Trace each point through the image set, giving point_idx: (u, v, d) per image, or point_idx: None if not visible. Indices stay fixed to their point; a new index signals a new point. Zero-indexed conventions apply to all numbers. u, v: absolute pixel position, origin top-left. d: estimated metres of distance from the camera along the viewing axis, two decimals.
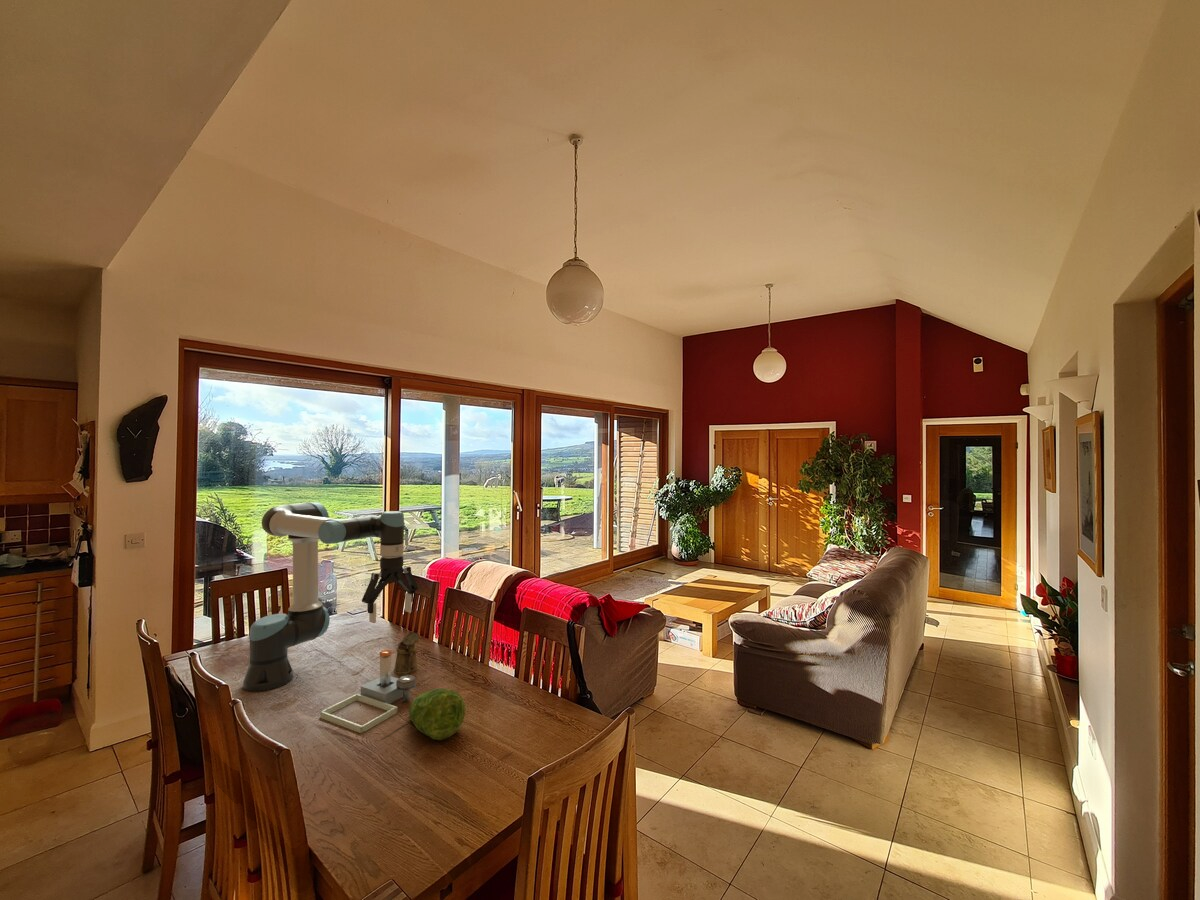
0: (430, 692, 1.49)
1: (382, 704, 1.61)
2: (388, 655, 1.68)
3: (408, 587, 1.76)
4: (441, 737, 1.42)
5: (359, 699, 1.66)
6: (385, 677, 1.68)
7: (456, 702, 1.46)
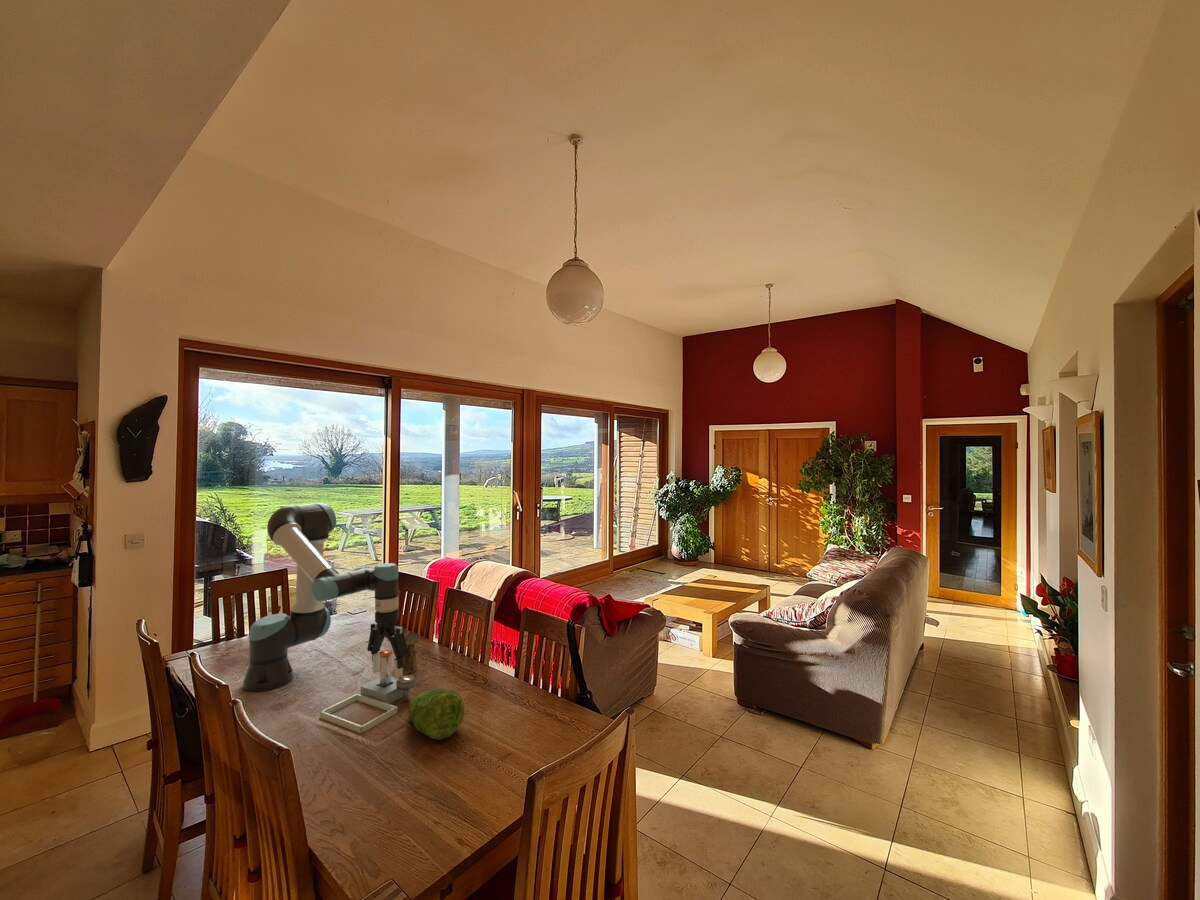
0: (430, 691, 1.49)
1: (382, 704, 1.61)
2: (388, 655, 1.68)
3: (394, 650, 1.66)
4: (440, 737, 1.42)
5: (359, 699, 1.66)
6: (385, 676, 1.68)
7: (455, 702, 1.46)
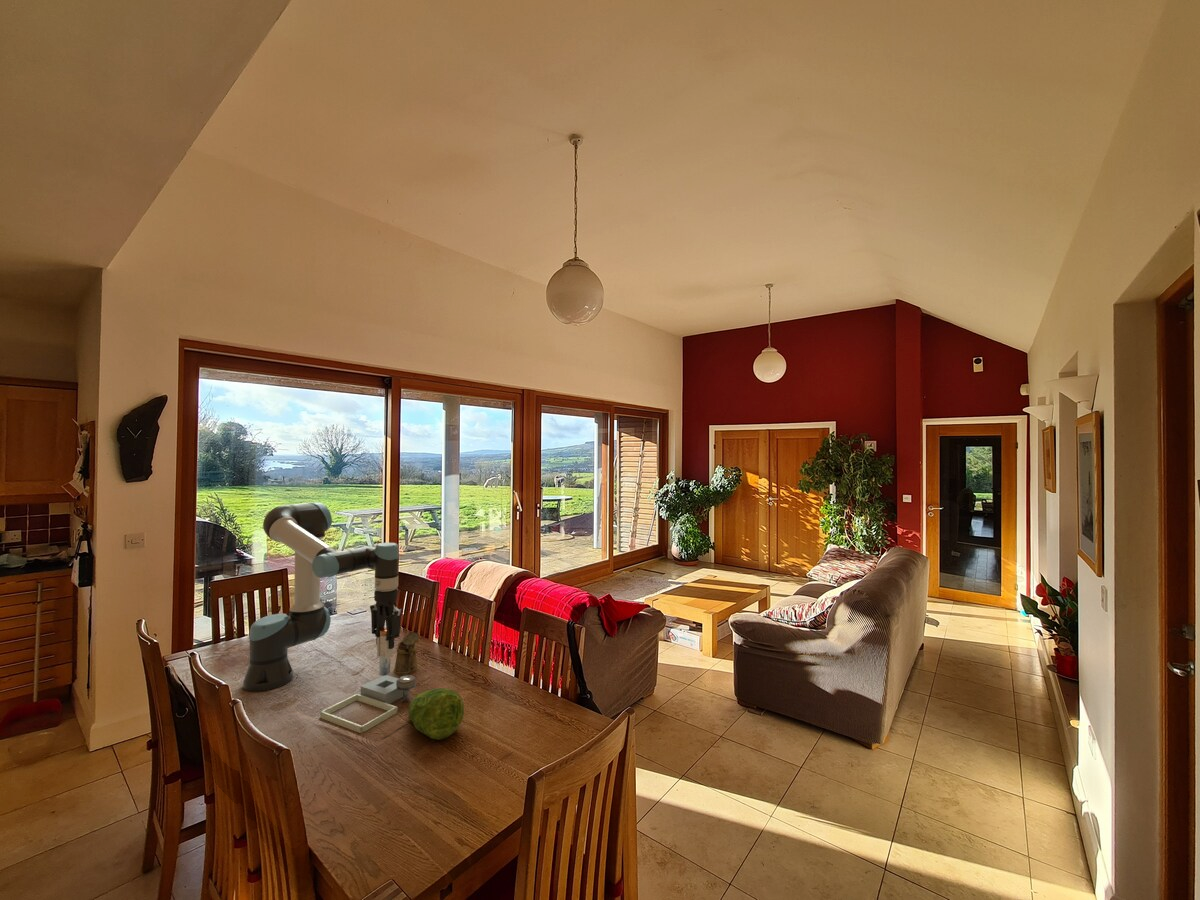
0: (429, 691, 1.49)
1: (382, 704, 1.61)
2: None
3: (387, 630, 1.68)
4: (440, 737, 1.43)
5: (359, 699, 1.66)
6: None
7: (455, 702, 1.47)
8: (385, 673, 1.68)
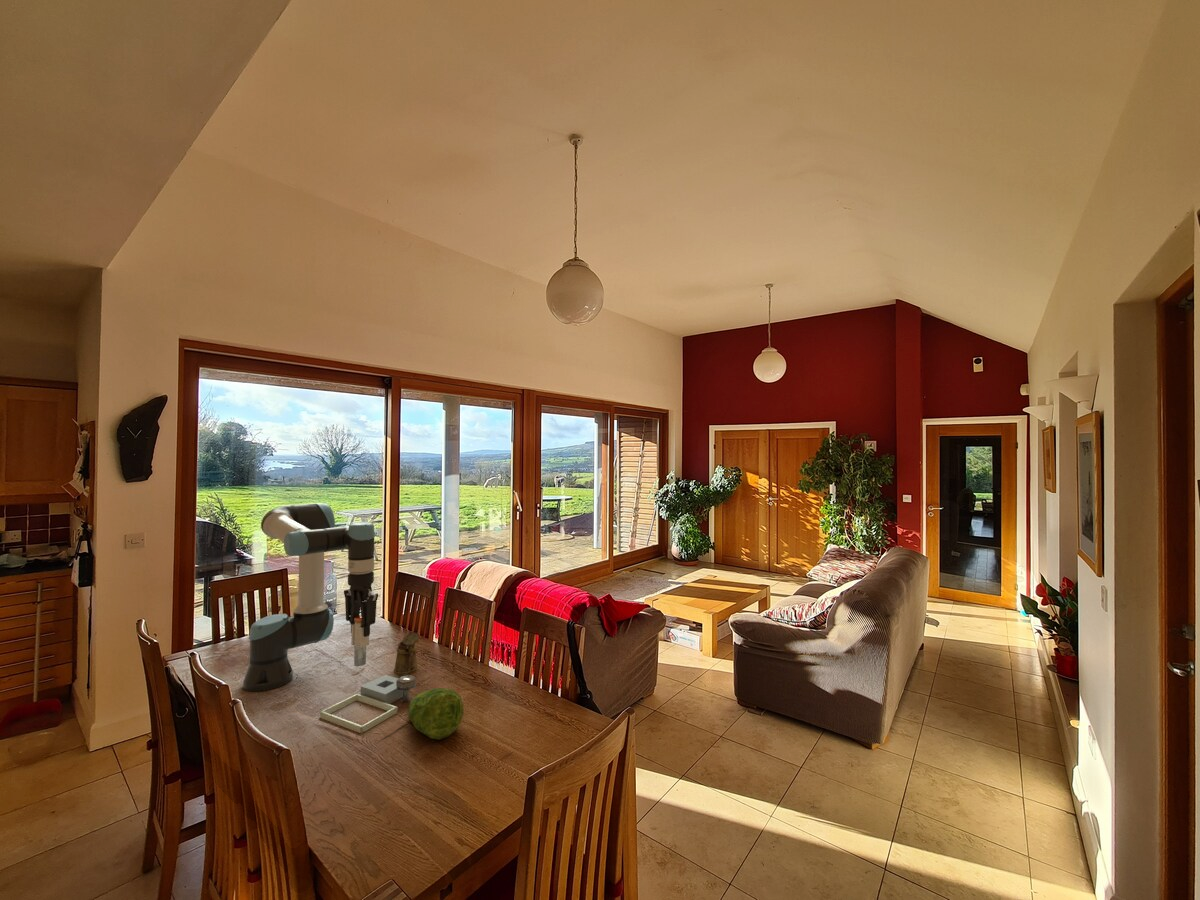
0: (429, 691, 1.49)
1: (382, 704, 1.61)
2: None
3: (362, 616, 1.55)
4: (439, 736, 1.43)
5: (359, 699, 1.66)
6: None
7: (454, 702, 1.47)
8: (360, 663, 1.56)
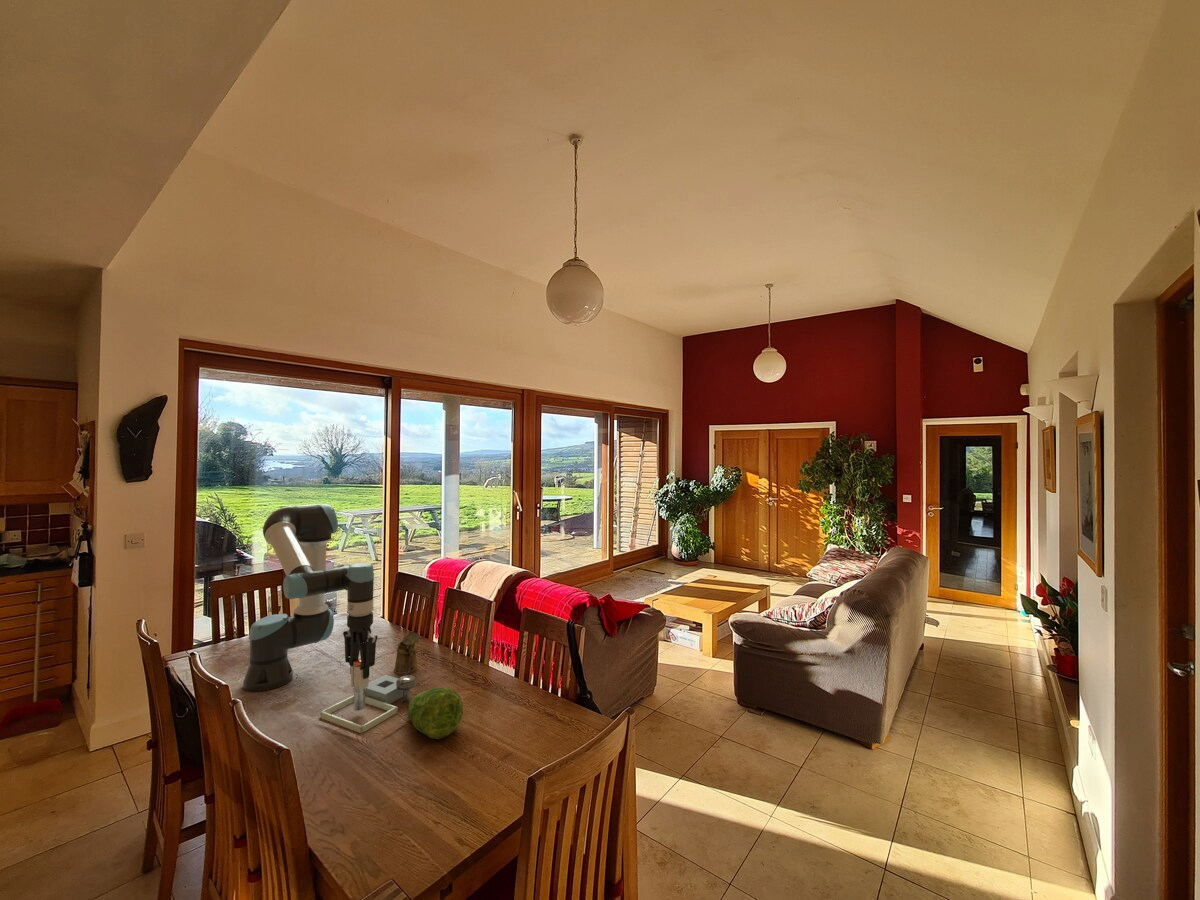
0: (428, 691, 1.50)
1: (382, 704, 1.61)
2: None
3: (361, 658, 1.55)
4: (439, 736, 1.43)
5: None
6: None
7: (453, 702, 1.47)
8: (360, 708, 1.55)
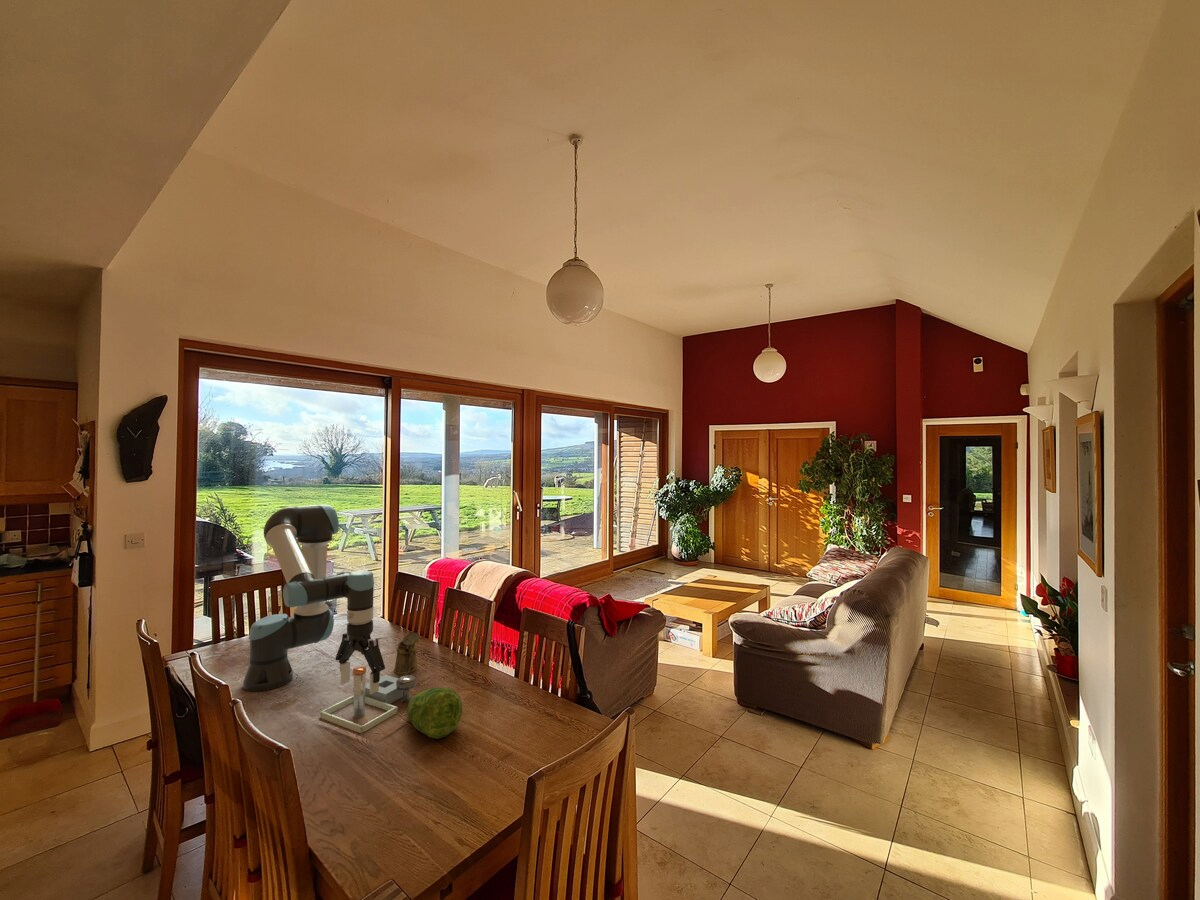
0: (428, 690, 1.50)
1: (382, 704, 1.61)
2: (362, 672, 1.56)
3: (369, 664, 1.53)
4: (438, 735, 1.43)
5: None
6: (359, 696, 1.55)
7: (453, 701, 1.47)
8: (359, 716, 1.55)
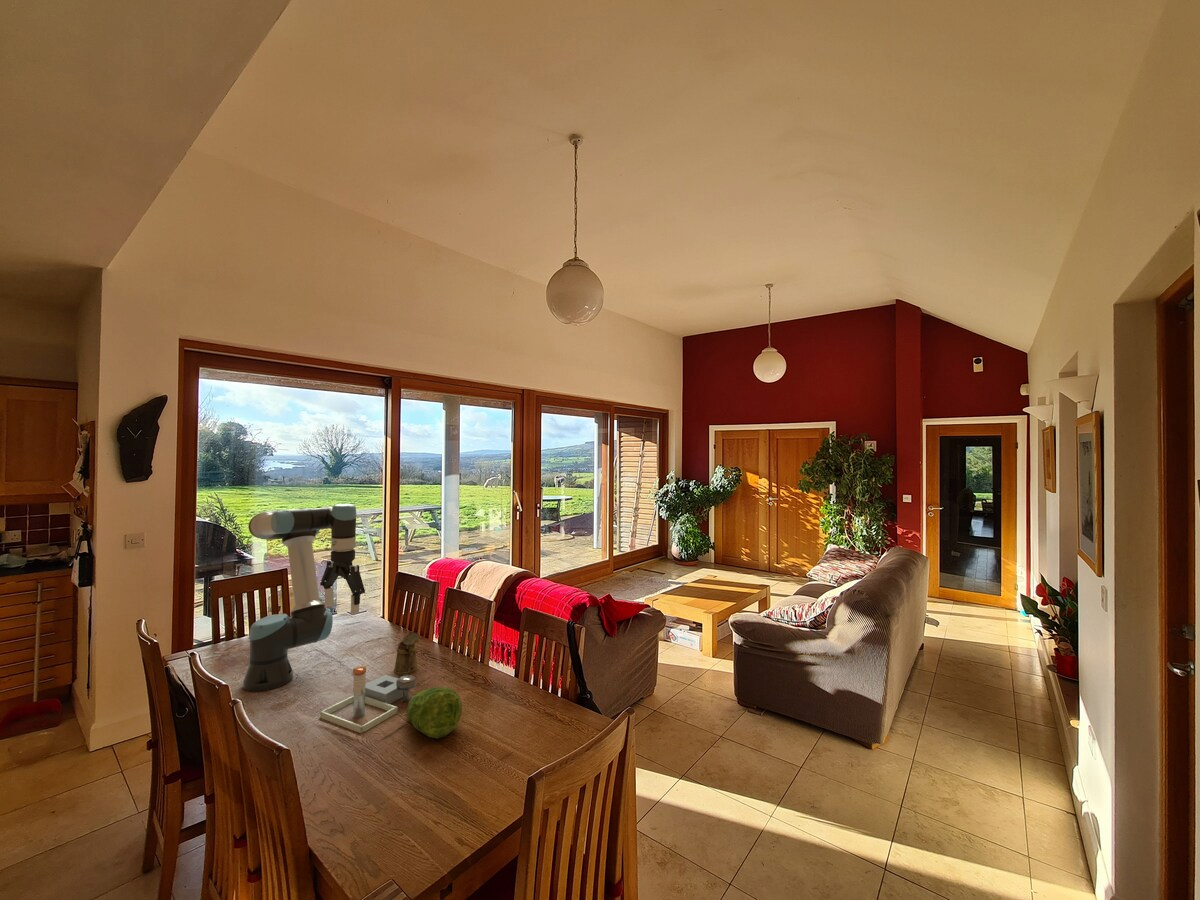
0: (427, 690, 1.50)
1: (382, 704, 1.61)
2: (362, 672, 1.56)
3: (350, 587, 1.66)
4: (438, 735, 1.43)
5: None
6: (359, 696, 1.55)
7: (452, 701, 1.47)
8: (359, 716, 1.55)
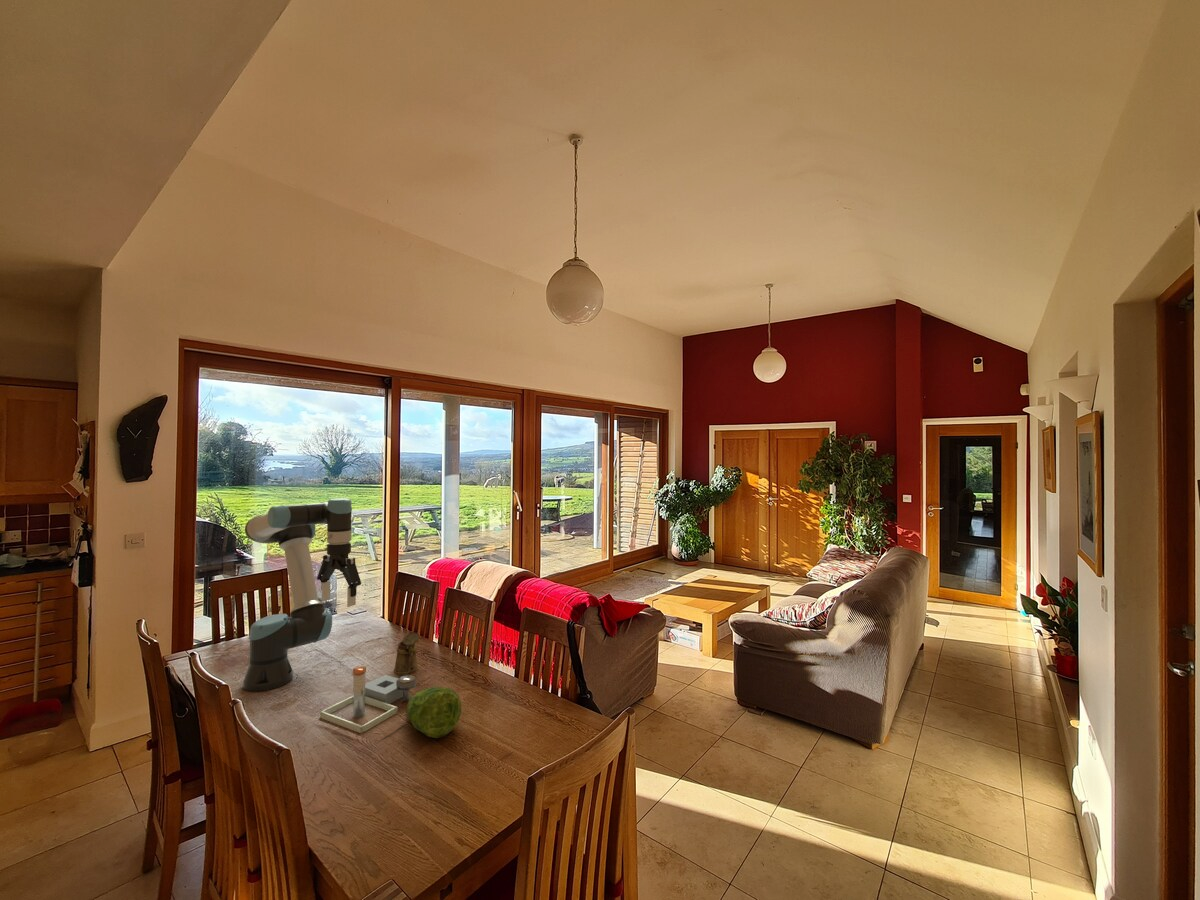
0: (427, 690, 1.50)
1: (382, 704, 1.61)
2: (362, 672, 1.56)
3: (347, 579, 1.69)
4: (437, 735, 1.43)
5: None
6: (359, 696, 1.55)
7: (452, 701, 1.47)
8: (359, 716, 1.55)
